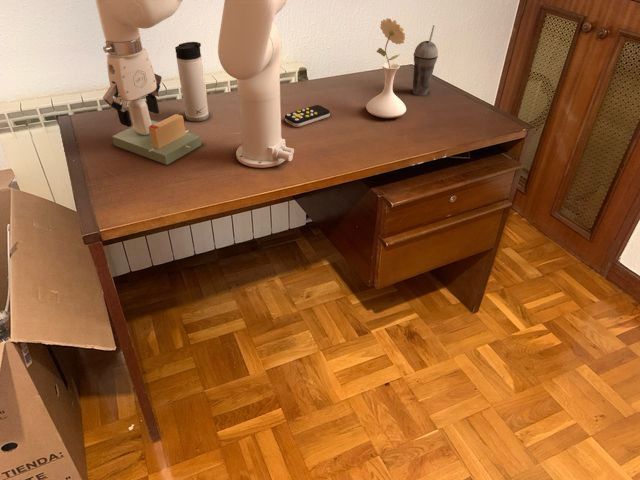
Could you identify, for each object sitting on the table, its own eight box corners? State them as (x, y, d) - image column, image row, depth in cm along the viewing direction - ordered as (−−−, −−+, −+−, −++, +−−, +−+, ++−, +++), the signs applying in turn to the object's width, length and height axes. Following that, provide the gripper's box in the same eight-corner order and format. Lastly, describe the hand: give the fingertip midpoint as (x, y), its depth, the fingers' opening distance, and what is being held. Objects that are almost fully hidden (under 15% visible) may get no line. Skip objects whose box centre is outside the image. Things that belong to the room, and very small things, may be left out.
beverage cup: (404, 89, 155) (413, 22, 143) (425, 87, 157) (435, 21, 145) (414, 98, 150) (424, 29, 137) (435, 96, 152) (447, 28, 139)
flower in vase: (412, 118, 138) (426, 25, 123) (376, 124, 135) (386, 29, 119) (390, 101, 148) (401, 12, 132) (356, 106, 144) (363, 15, 129)
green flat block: (209, 146, 123) (208, 136, 121) (171, 168, 114) (169, 158, 112) (151, 126, 130) (150, 117, 129) (112, 146, 122) (109, 136, 120)
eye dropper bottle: (135, 137, 120) (123, 89, 113) (134, 128, 124) (122, 81, 117) (153, 134, 121) (142, 87, 114) (151, 125, 125) (141, 79, 118)
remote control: (332, 116, 138) (332, 110, 137) (296, 128, 131) (296, 121, 130) (318, 109, 142) (318, 102, 140) (282, 120, 135) (282, 114, 134)
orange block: (179, 132, 123) (175, 112, 119) (185, 134, 122) (182, 114, 118) (152, 146, 117) (148, 126, 113) (159, 149, 116) (154, 128, 112)
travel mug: (205, 123, 133) (194, 47, 121) (182, 120, 134) (169, 45, 122) (213, 113, 138) (204, 40, 125) (191, 111, 139) (180, 38, 126)
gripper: (104, 59, 102) (123, 135, 113) (164, 39, 114) (177, 110, 125) (80, 53, 105) (101, 128, 116) (142, 34, 117) (155, 103, 128)
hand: (140, 118), depth 120 cm, fingers open, 8 cm apart
